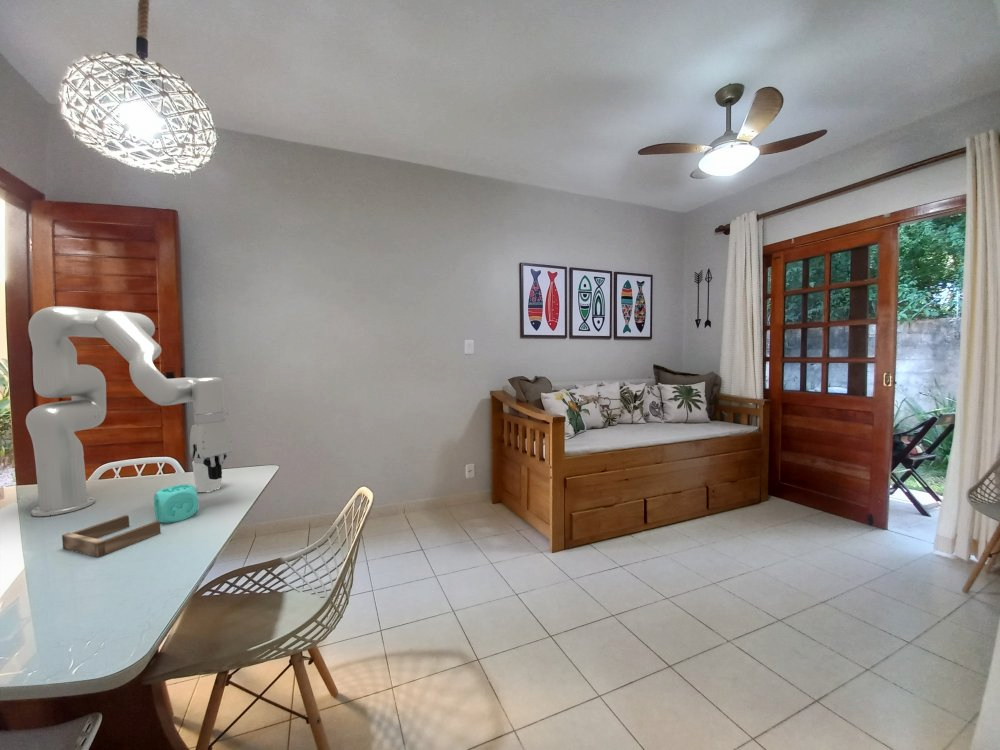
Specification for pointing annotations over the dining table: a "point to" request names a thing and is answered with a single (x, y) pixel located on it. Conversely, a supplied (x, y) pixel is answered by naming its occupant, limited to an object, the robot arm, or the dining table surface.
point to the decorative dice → (175, 503)
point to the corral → (96, 547)
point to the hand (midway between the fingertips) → (215, 478)
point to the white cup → (204, 479)
